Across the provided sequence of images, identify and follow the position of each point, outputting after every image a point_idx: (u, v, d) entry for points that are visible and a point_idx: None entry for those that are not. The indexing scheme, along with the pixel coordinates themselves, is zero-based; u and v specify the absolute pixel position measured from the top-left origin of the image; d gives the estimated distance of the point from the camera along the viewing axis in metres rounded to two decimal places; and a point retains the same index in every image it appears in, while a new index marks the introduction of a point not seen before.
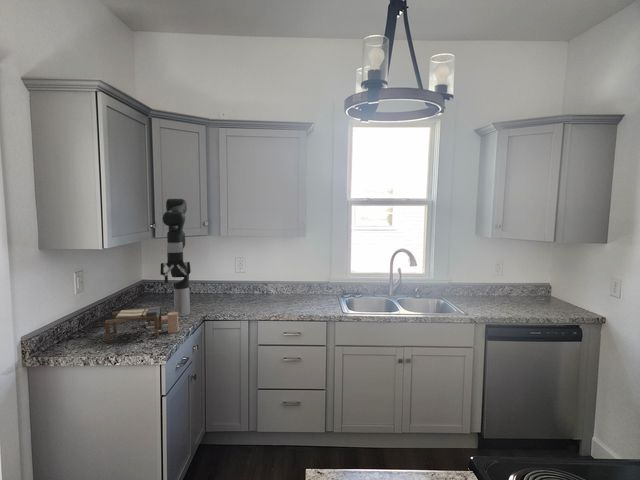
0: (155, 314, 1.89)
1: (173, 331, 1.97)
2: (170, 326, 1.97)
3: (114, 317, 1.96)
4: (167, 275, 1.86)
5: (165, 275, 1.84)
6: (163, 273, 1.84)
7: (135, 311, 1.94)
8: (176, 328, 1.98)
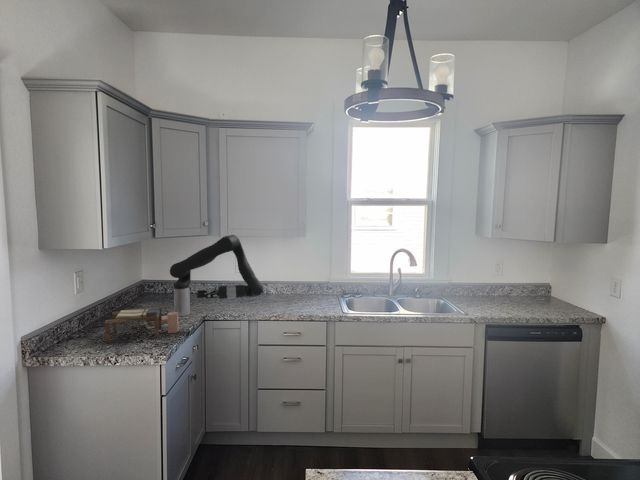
0: (155, 314, 1.89)
1: (173, 331, 1.97)
2: (170, 326, 1.97)
3: (114, 317, 1.96)
4: (204, 293, 1.99)
5: (205, 297, 1.99)
6: None
7: (135, 311, 1.94)
8: (176, 328, 1.98)
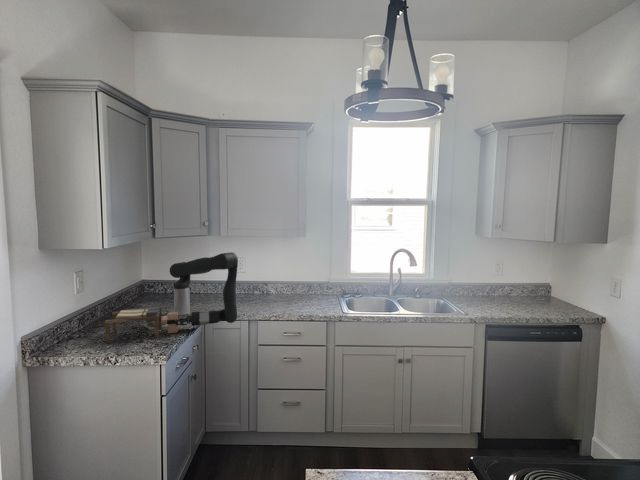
0: (155, 314, 1.89)
1: (173, 331, 1.97)
2: (170, 326, 1.97)
3: (114, 317, 1.96)
4: None
5: (175, 324, 1.96)
6: None
7: (135, 311, 1.94)
8: (176, 328, 1.98)
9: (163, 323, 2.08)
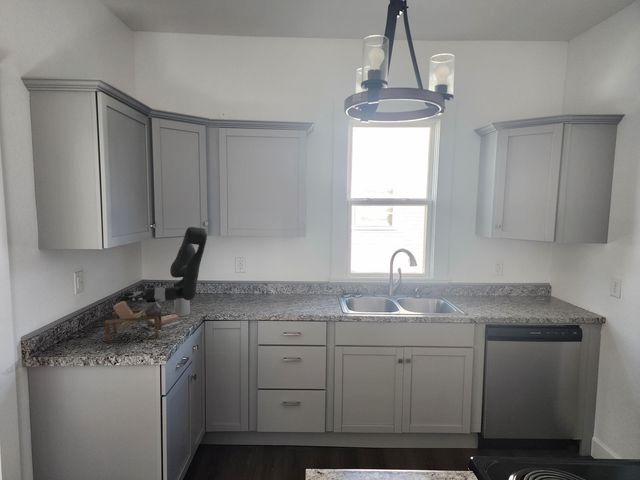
0: (153, 309, 1.89)
1: None
2: (122, 316, 1.88)
3: (114, 317, 1.96)
4: (128, 296, 1.87)
5: None
6: None
7: (136, 315, 1.94)
8: (129, 315, 1.89)
9: (164, 323, 2.08)
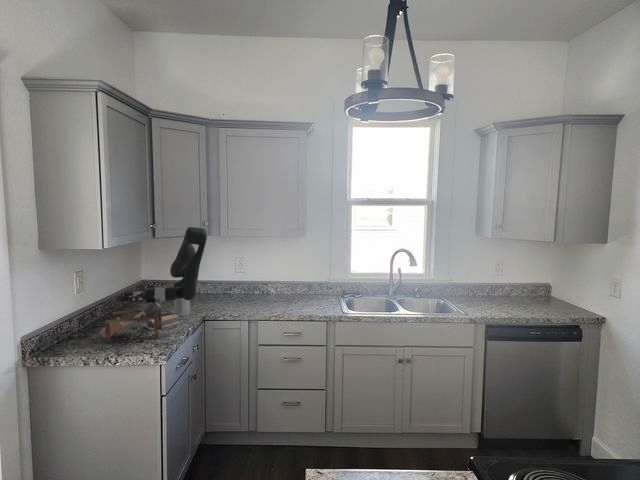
0: (152, 308, 1.88)
1: (118, 323, 1.88)
2: (115, 329, 1.88)
3: (114, 317, 1.96)
4: (128, 296, 1.87)
5: None
6: None
7: (136, 316, 1.94)
8: (113, 323, 1.87)
9: (163, 323, 2.07)
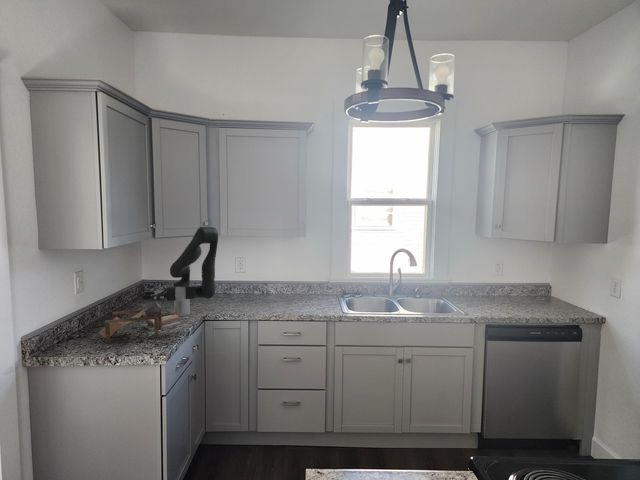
0: (153, 308, 1.88)
1: (116, 322, 1.88)
2: (114, 328, 1.87)
3: (114, 317, 1.96)
4: (150, 295, 1.90)
5: (151, 299, 1.90)
6: None
7: (136, 315, 1.94)
8: None
9: (163, 323, 2.07)
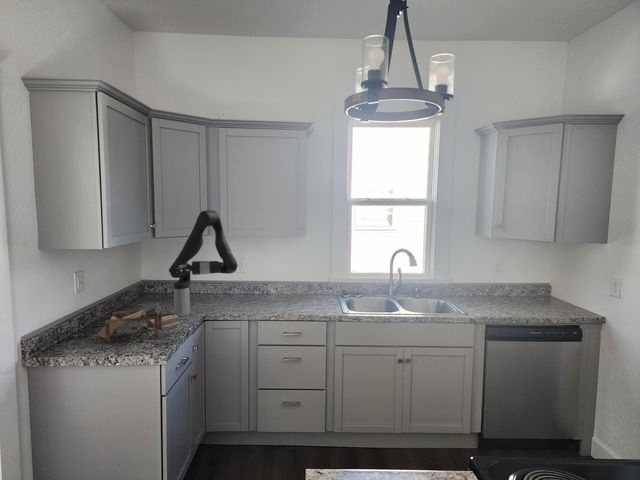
0: (154, 310, 1.89)
1: None
2: (112, 327, 1.87)
3: None
4: (176, 268, 1.97)
5: (177, 272, 1.96)
6: None
7: (135, 314, 1.94)
8: None
9: (163, 323, 2.07)
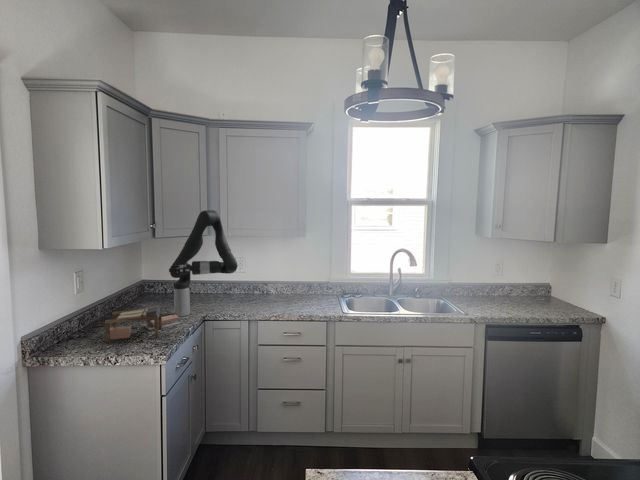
0: (155, 313, 1.89)
1: (127, 332, 1.90)
2: (121, 335, 1.89)
3: (114, 317, 1.96)
4: (176, 268, 1.97)
5: (177, 272, 1.96)
6: None
7: (135, 312, 1.94)
8: (124, 330, 1.89)
9: (163, 323, 2.07)
